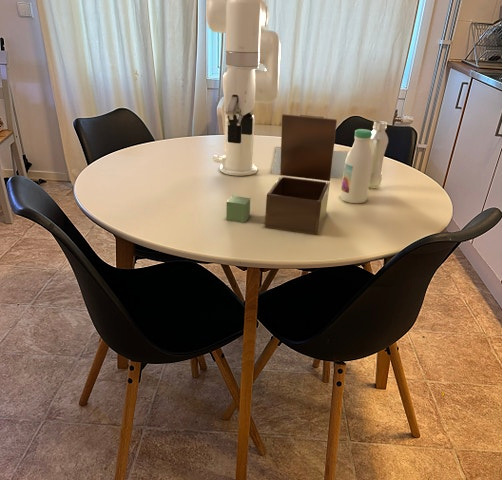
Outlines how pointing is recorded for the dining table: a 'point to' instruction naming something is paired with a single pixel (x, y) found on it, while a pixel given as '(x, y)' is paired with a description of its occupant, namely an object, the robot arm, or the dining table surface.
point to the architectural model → (337, 163)
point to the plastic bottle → (377, 152)
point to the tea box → (296, 205)
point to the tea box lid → (307, 146)
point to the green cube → (238, 209)
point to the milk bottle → (357, 169)
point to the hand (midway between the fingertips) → (240, 138)
